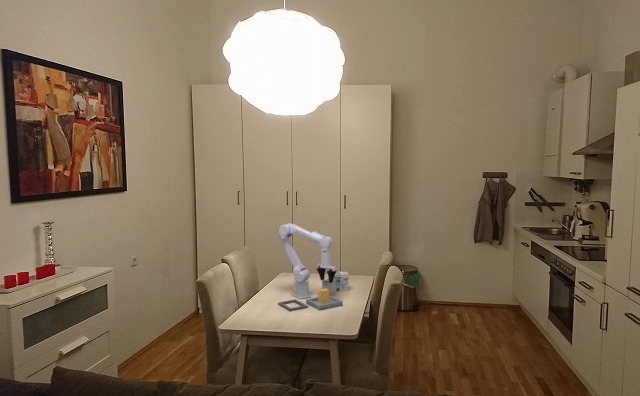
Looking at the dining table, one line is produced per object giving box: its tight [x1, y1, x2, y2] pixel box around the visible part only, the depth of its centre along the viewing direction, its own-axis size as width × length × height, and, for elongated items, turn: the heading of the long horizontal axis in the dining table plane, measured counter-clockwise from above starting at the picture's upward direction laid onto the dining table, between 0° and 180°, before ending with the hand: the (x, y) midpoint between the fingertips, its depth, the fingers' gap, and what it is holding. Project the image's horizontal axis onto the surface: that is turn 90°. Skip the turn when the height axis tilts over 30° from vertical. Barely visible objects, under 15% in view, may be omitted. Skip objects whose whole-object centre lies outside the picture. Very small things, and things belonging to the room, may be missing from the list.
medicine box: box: [321, 278, 337, 296], centre depth 268 cm, size 8×4×9 cm, turn 141°
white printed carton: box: [334, 270, 350, 292], centre depth 276 cm, size 11×7×11 cm, turn 105°
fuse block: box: [317, 288, 329, 305], centre depth 247 cm, size 4×5×8 cm
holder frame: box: [277, 299, 309, 312], centre depth 245 cm, size 14×11×1 cm
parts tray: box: [305, 295, 344, 311], centre depth 247 cm, size 14×15×2 cm
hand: (326, 281), depth 257 cm, fingers open, 7 cm apart
